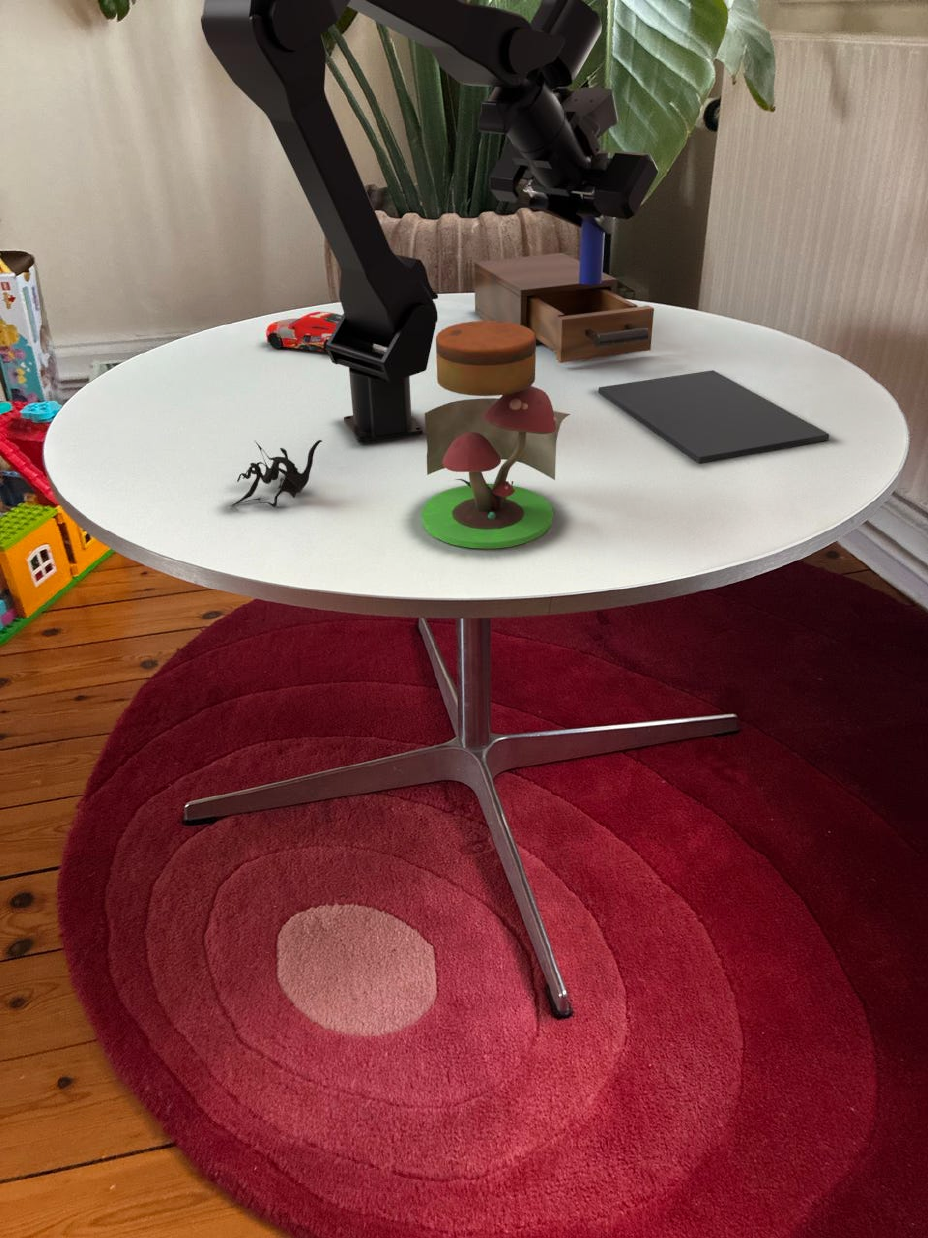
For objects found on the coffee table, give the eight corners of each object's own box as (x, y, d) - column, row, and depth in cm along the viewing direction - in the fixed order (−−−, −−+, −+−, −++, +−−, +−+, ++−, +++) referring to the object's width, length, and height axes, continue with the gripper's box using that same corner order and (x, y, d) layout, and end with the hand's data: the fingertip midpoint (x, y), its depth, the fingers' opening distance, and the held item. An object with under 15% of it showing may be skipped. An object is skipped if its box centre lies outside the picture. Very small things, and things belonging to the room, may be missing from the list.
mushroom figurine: (582, 548, 74) (593, 354, 66) (418, 556, 74) (408, 362, 66) (559, 483, 84) (565, 307, 76) (414, 489, 84) (405, 313, 76)
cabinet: (613, 333, 121) (617, 278, 117) (520, 345, 117) (520, 289, 114) (560, 302, 133) (562, 252, 129) (474, 313, 130) (474, 261, 126)
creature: (214, 516, 83) (281, 518, 78) (193, 456, 80) (261, 455, 76) (275, 482, 88) (341, 482, 84) (258, 425, 86) (324, 422, 81)
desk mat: (828, 439, 91) (829, 433, 91) (698, 463, 87) (699, 457, 87) (712, 375, 107) (713, 369, 107) (598, 392, 103) (598, 387, 103)
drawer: (667, 360, 109) (672, 316, 106) (575, 373, 106) (577, 329, 103) (594, 317, 123) (596, 278, 121) (511, 328, 120) (511, 288, 118)
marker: (606, 283, 110) (614, 152, 102) (584, 286, 109) (590, 153, 102) (596, 278, 112) (603, 149, 105) (574, 280, 111) (580, 150, 104)
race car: (258, 347, 119) (253, 314, 117) (283, 335, 123) (279, 303, 121) (351, 359, 114) (348, 325, 112) (374, 346, 118) (371, 313, 116)
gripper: (656, 60, 90) (707, 174, 103) (507, 55, 102) (569, 159, 114) (599, 162, 90) (657, 264, 103) (456, 147, 101) (524, 241, 114)
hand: (600, 228), depth 108 cm, fingers closed on marker, 2 cm apart
